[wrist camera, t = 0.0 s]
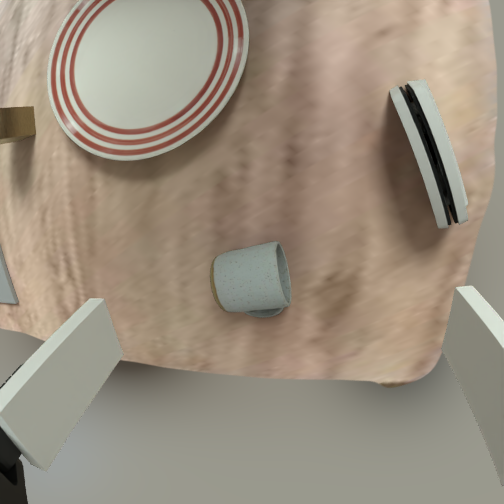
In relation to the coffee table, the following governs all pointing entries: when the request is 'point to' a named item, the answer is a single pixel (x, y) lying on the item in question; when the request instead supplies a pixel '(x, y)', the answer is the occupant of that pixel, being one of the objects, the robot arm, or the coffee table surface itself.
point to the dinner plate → (144, 72)
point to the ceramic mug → (252, 280)
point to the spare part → (16, 124)
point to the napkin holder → (446, 170)
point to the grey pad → (6, 283)
